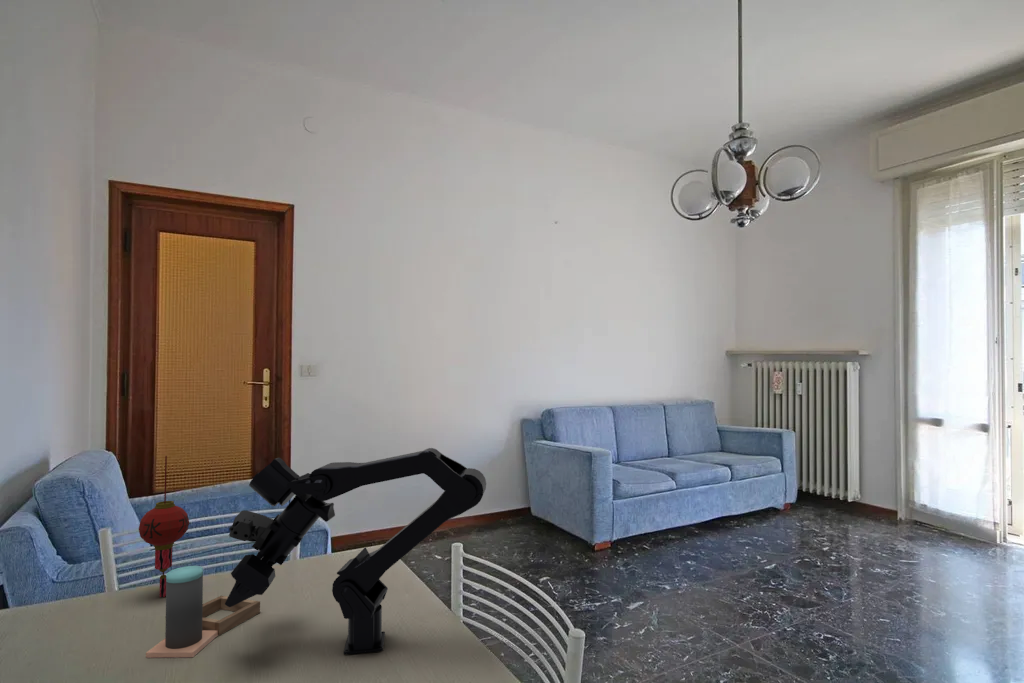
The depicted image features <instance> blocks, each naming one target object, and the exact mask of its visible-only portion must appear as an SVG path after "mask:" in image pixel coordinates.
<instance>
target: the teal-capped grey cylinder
mask: <svg viewBox="0 0 1024 683" xmlns="http://www.w3.org/2000/svg"><path fill="white" fill-rule="evenodd" d="M165 575H166V597H165V635H164V636H165V638H164V639H165V646H166V647H167V648H169V649H179V648H184V647H188V646H191V645H193V644H196V643H197V642H199V641H200V640H201V639H202V612H203V604H204V603H203V602H204V600H203V595H204V594H203V591H204V587H203V586H204V568H203V567H202V566H200V565H189V566H188V565H187V566H181V567H178V568H175V569H172V570H169V571H168V572H167V573H166V574H165Z"/></svg>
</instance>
